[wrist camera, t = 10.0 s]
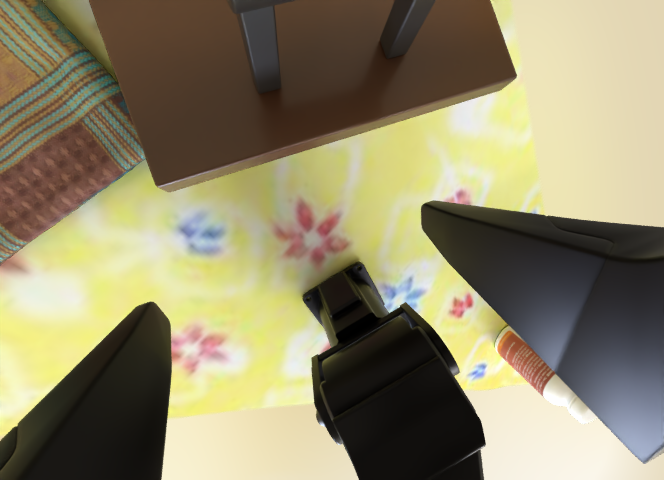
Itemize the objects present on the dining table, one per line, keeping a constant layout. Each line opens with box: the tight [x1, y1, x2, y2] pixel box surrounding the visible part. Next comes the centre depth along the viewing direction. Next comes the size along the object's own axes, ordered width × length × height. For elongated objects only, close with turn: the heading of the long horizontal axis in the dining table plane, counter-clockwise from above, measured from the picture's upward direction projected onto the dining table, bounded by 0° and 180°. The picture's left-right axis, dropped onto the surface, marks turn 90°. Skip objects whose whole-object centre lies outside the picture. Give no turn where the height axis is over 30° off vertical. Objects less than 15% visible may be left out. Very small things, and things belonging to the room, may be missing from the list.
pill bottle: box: [495, 325, 598, 424], centre depth 34 cm, size 6×6×11 cm
